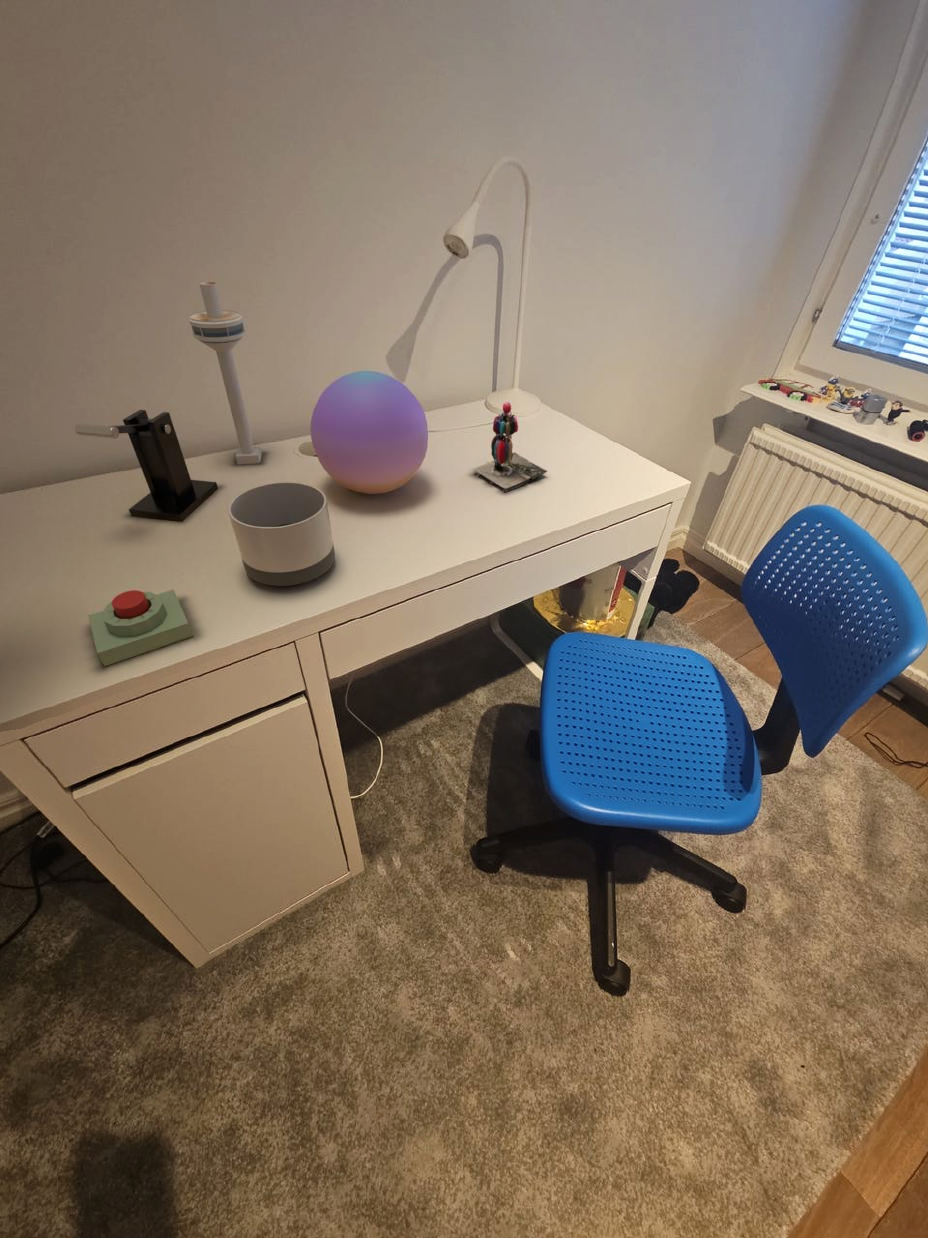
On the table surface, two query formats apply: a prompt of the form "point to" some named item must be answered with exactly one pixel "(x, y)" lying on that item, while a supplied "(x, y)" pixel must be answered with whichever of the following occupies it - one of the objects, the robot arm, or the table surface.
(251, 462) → the model tower
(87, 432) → the lever
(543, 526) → the table surface
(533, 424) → the table surface
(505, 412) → the statue
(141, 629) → the button base
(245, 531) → the planter
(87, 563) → the table surface
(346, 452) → the ball
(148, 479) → the bracket
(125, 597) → the button
